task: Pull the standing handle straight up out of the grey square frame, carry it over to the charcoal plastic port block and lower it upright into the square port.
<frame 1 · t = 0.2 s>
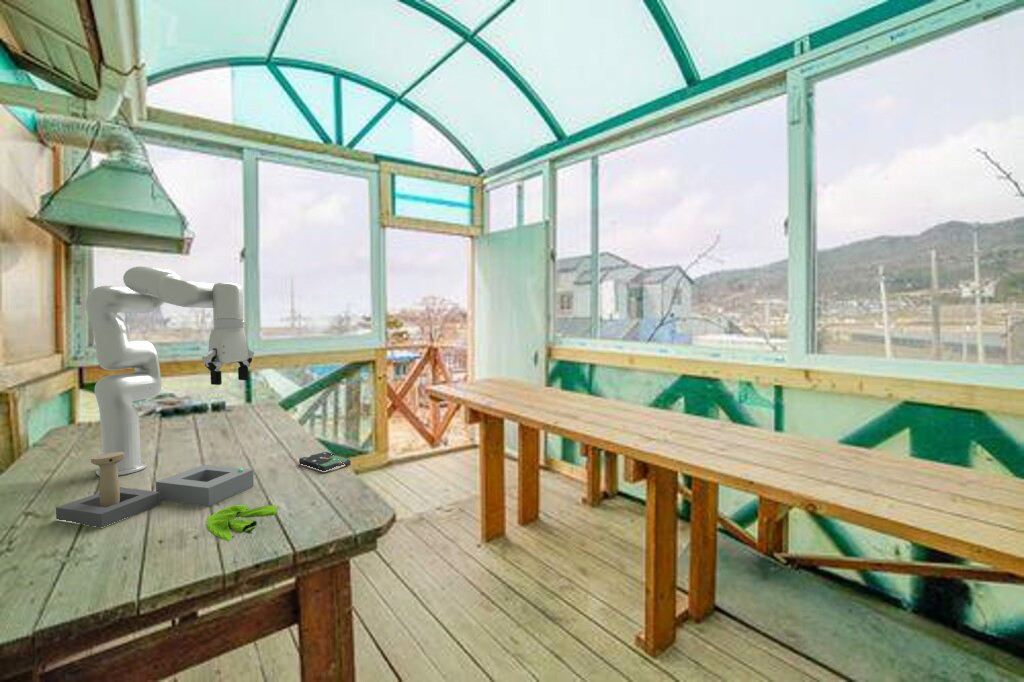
hand: (230, 382, 136), 31 cm above the table, tool pointing down, fingers open, 9 cm apart
disk drive: (325, 466, 156), on the table
handle: (110, 513, 117), resting in grey square frame
grey square frame: (110, 512, 117), on the table
port block: (206, 492, 131), on the table
cloth: (245, 524, 113), on the table
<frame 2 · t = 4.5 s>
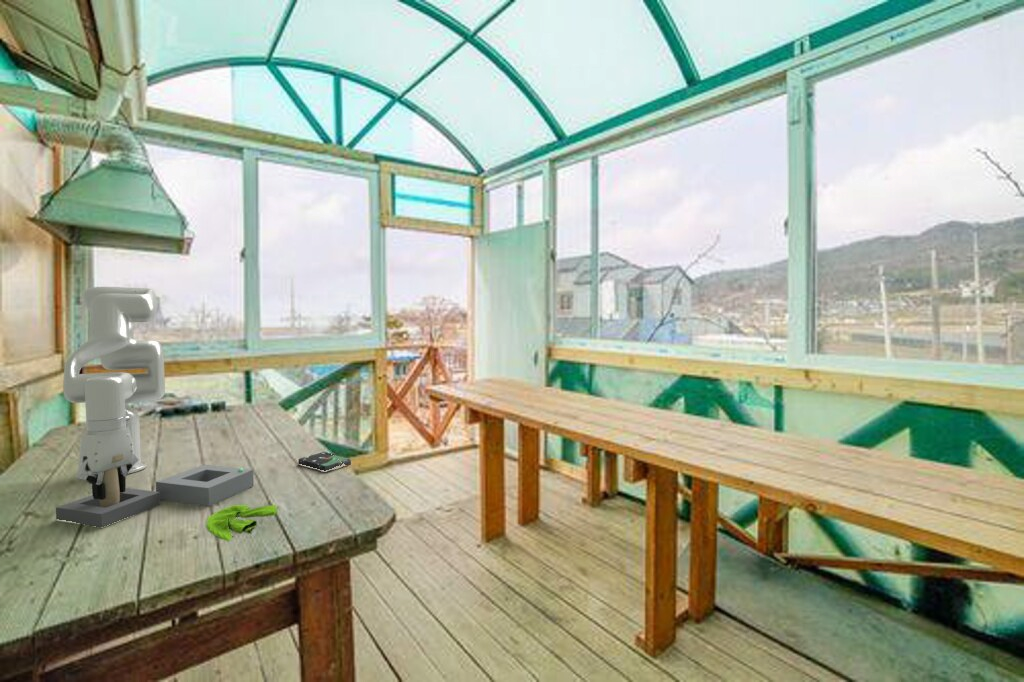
hand: (109, 494, 117), 5 cm above the table, tool pointing down, fingers closed on handle, 4 cm apart
handle: (110, 513, 117), resting in grey square frame, touching gripper
everything else where it was.
when the fingers open (6 cm above the table, at t = 11.4 s): handle drops 1 cm, resting in port block.
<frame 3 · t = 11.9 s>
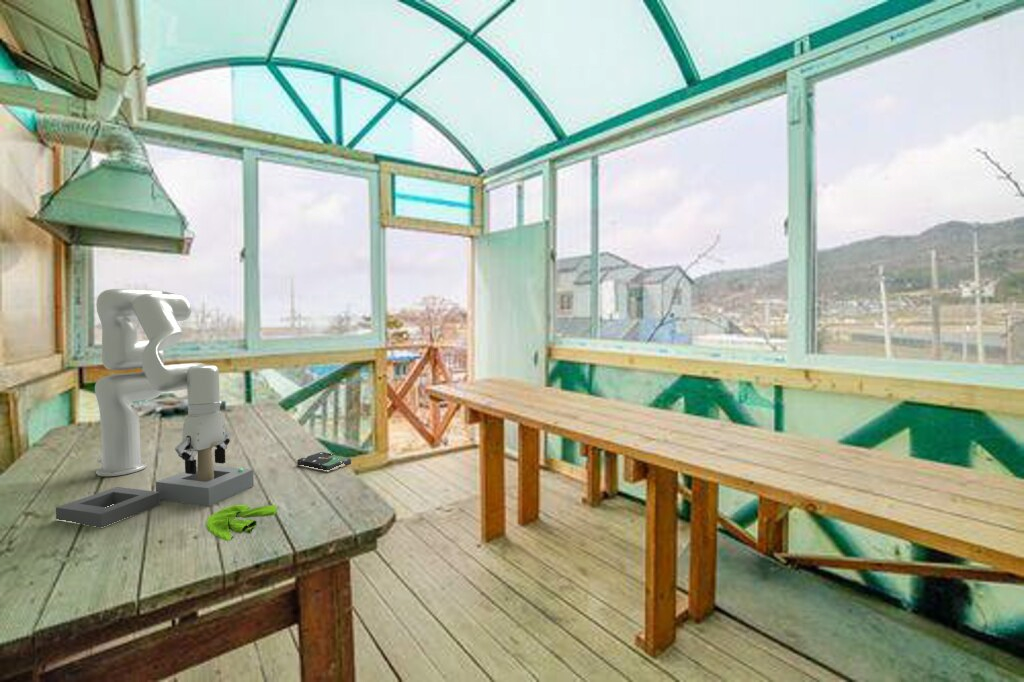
hand: (206, 468, 131), 7 cm above the table, tool pointing down, fingers open, 9 cm apart
handle: (206, 493, 131), resting in port block
everything else where it was.
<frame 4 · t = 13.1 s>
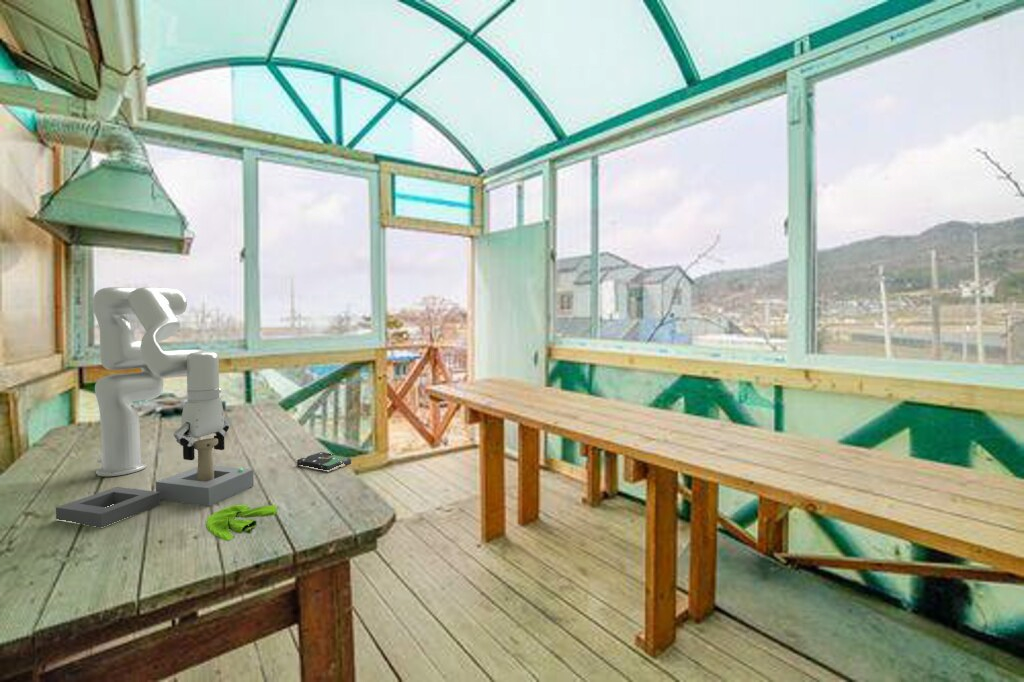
hand: (204, 454, 131), 11 cm above the table, tool pointing down, fingers open, 9 cm apart
nothing on the table moved.
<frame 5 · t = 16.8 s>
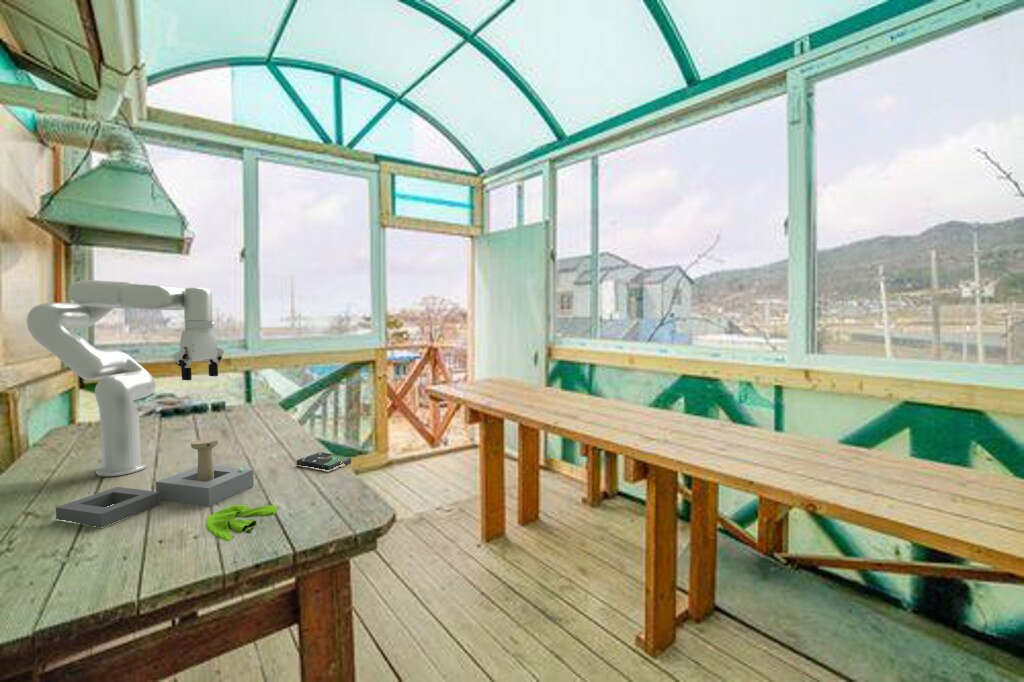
hand: (200, 378, 149), 30 cm above the table, tool pointing down, fingers open, 9 cm apart
nothing on the table moved.
at the end: handle 0.2 cm off-centre on the port block, point 0.0 cm above the port block's base; handle tilted 0°; the gripper is holding nothing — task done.
